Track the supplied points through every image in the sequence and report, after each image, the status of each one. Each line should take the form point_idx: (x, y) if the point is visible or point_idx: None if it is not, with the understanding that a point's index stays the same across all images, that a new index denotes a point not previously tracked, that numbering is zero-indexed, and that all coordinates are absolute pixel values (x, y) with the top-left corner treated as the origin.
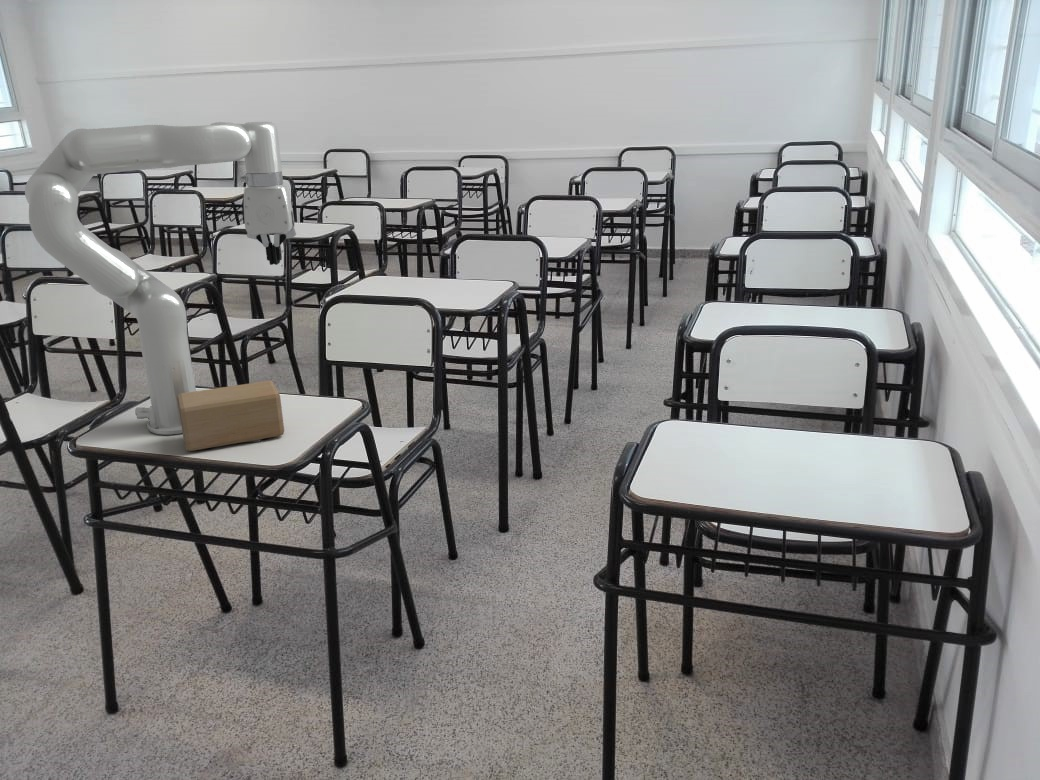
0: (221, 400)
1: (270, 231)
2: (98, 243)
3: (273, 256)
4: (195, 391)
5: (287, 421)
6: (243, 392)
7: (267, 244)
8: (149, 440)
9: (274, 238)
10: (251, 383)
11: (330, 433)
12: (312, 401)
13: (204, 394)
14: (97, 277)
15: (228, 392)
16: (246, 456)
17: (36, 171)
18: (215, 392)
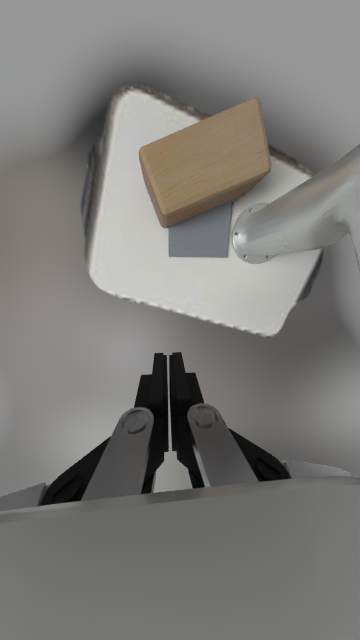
0: (210, 121)
1: (137, 527)
2: None
3: (163, 370)
4: (251, 171)
5: (154, 233)
6: (187, 155)
7: (195, 420)
8: (276, 194)
9: (139, 462)
10: (185, 198)
11: (98, 189)
12: (143, 289)
13: (238, 154)
14: None
15: (208, 159)
16: (171, 127)
17: None
18: (225, 161)
